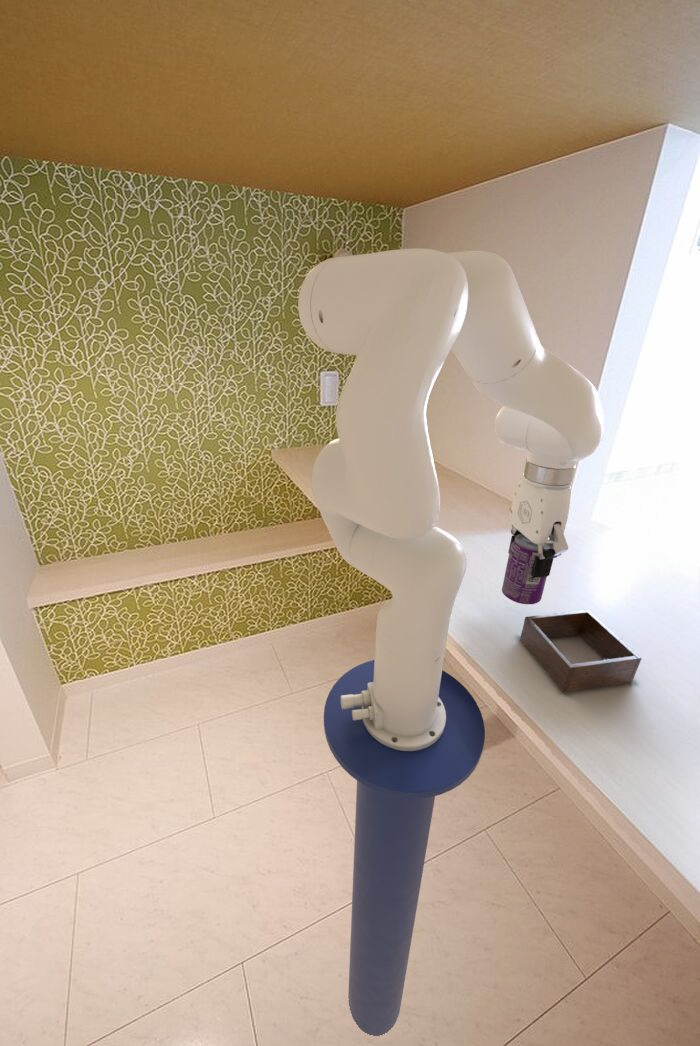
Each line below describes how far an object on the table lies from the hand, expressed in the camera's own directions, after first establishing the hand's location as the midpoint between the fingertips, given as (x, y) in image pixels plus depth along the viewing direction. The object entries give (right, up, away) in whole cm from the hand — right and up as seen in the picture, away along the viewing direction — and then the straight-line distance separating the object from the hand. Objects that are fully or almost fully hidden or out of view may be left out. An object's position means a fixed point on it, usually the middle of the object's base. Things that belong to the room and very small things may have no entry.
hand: (527, 564), depth 80 cm
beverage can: (0, -7, +3) cm, 7 cm away
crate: (+5, -16, -6) cm, 17 cm away
